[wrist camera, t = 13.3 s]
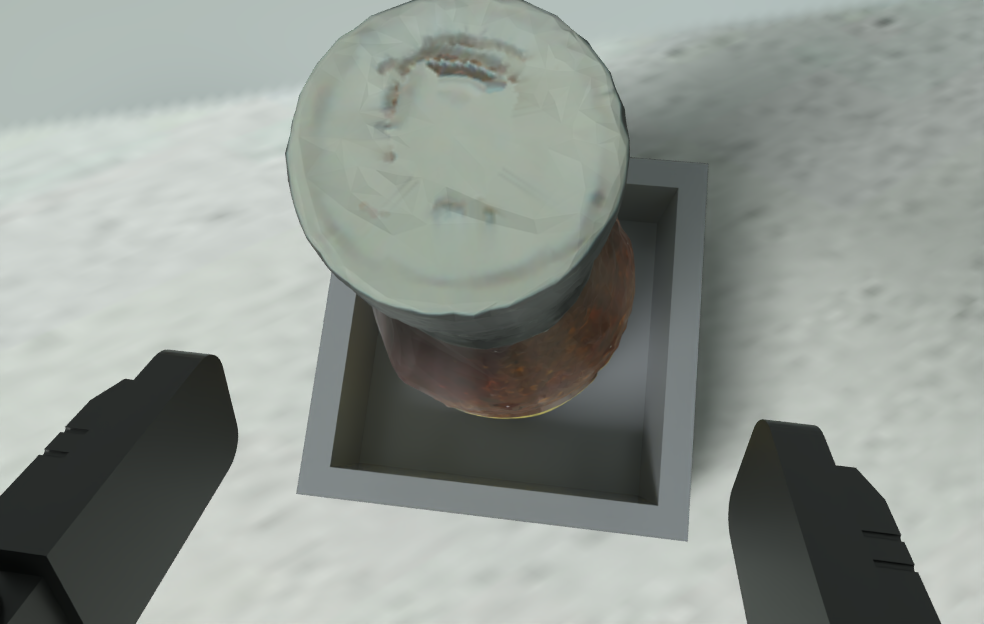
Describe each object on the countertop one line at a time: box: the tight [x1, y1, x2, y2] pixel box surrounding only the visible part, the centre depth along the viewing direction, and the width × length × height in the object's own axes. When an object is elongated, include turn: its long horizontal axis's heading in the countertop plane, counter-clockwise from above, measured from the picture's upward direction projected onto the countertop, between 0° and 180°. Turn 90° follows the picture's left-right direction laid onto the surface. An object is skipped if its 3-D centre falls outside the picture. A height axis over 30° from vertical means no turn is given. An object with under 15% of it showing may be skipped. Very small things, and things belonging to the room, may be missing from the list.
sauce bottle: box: [285, 0, 635, 419], centre depth 17 cm, size 6×6×20 cm
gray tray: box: [296, 157, 708, 542], centre depth 26 cm, size 13×13×5 cm
